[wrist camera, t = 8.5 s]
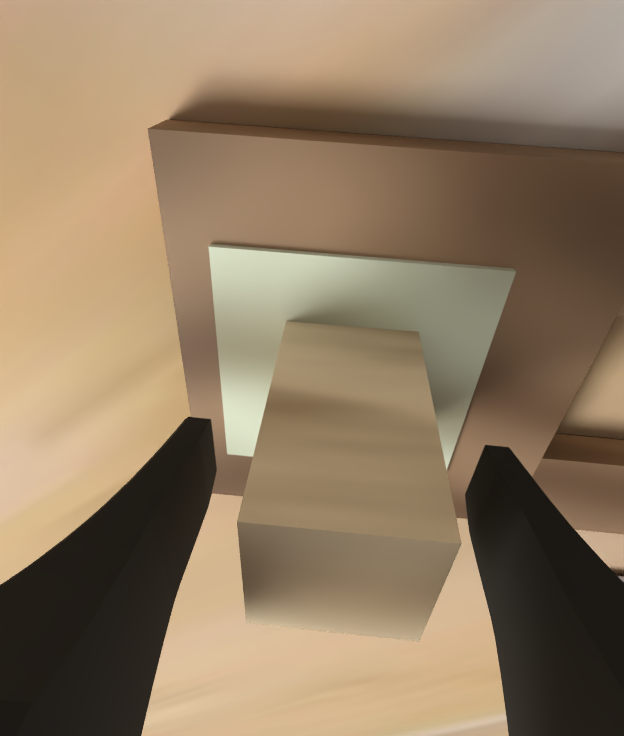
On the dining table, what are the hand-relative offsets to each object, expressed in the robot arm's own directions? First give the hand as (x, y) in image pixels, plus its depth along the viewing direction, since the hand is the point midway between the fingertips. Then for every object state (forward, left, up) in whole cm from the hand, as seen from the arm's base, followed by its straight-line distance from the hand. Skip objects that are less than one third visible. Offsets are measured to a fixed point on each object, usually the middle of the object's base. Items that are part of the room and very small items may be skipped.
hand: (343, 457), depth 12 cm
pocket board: (0, -5, -5) cm, 7 cm away
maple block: (0, 0, -3) cm, 3 cm away
